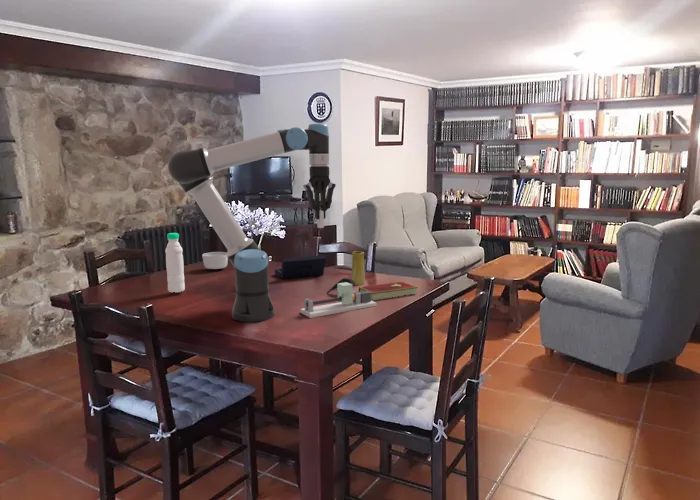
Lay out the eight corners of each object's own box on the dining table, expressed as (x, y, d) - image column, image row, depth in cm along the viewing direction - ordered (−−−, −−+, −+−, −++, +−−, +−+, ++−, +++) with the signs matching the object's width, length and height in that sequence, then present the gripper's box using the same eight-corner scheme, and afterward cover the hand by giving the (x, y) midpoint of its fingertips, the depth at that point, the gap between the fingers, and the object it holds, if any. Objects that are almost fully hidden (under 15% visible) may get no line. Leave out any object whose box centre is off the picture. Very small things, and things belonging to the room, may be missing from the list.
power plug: (327, 289, 231) (349, 273, 228) (338, 303, 231) (360, 287, 228) (324, 292, 226) (346, 276, 223) (335, 307, 226) (358, 290, 223)
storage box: (314, 270, 276) (314, 250, 274) (326, 276, 261) (325, 256, 260) (274, 274, 268) (274, 254, 266) (284, 281, 253) (283, 259, 252)
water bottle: (182, 292, 232) (178, 234, 227) (165, 293, 232) (161, 234, 227) (187, 288, 239) (183, 232, 234) (170, 288, 239) (167, 232, 234)
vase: (351, 282, 248) (350, 251, 246) (364, 281, 249) (364, 250, 246) (352, 285, 242) (351, 253, 240) (365, 284, 243) (365, 253, 240)
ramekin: (222, 263, 294) (221, 250, 293) (233, 267, 284) (232, 254, 283) (198, 266, 286) (198, 253, 285) (209, 270, 276) (208, 257, 275)
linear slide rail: (310, 318, 194) (310, 303, 193) (300, 312, 201) (300, 298, 200) (376, 306, 208) (376, 292, 207) (365, 301, 215) (365, 288, 214)
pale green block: (343, 304, 202) (343, 285, 201) (337, 301, 206) (337, 283, 205) (352, 302, 204) (352, 284, 203) (346, 300, 208) (346, 282, 207)
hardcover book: (358, 296, 226) (358, 286, 225) (402, 290, 235) (402, 280, 234) (372, 302, 215) (372, 292, 214) (417, 296, 224) (417, 286, 223)
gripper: (308, 166, 201) (309, 229, 205) (339, 165, 207) (340, 227, 211) (299, 165, 207) (301, 227, 211) (329, 165, 213) (330, 225, 218)
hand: (320, 227), depth 211 cm, fingers closed
